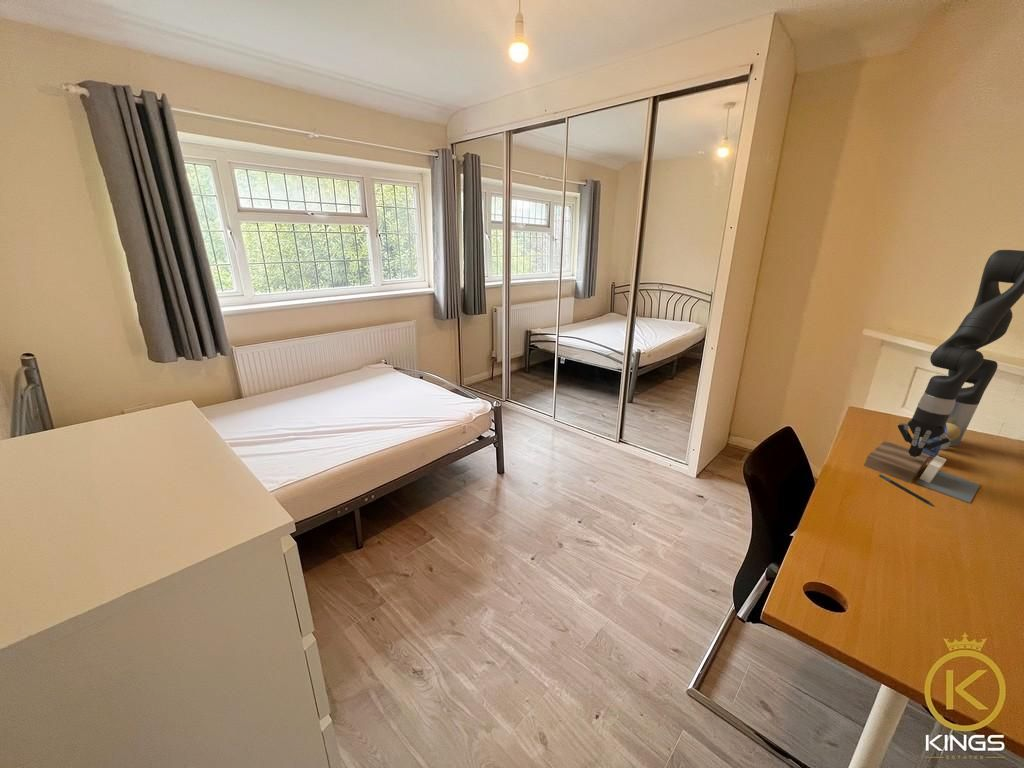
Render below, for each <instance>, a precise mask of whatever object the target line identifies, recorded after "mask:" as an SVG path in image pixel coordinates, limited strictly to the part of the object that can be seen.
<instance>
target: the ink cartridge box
mask: <svg viewBox="0 0 1024 768" xmlns="http://www.w3.org/2000/svg"><path fill="white" fill-rule="evenodd" d="M944 429H945V432H944V433H945V434H947V426H946V425H945V427H944ZM939 437H941V436H937V437H935V438H932V439H929V440H928V441H927V443H932V442H935V441H937V440H939ZM921 440H922V437H920V440H919V443H918V445H919V444H920V442H921ZM941 446H942V445H939V446H937V447H934V448H931V449H928V448H924V449H923V451H922V453H924V454H927V455H930V456H929V458H928V461H927V463H928V464H930V462H931V461H932V460H933V459H934V458H935V457H936V456H939V453H940V451H941V450H942V449H941Z"/></svg>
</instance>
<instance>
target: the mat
mask: <svg viewBox="0 0 1024 768" xmlns="http://www.w3.org/2000/svg"><path fill="white" fill-rule="evenodd" d="M915 484H916V485H918V486H922V487H924V488H927V489H930V490H932V491H935V492H938V493H940V494H943V495H946V496H949V497H951V498H953V499H957V500H959V501H962V502H965V503H966V504H971V502H972V500H973V498H974V497H975V495H976V493H977V491H978V490H979V488H980V485H981V483H977V482H975V481H971V480H968V479H965V478H962V477H959V476H957V475H953V474H951V473H948V472H944V471H942V470H939V472H938V473H937V474H936V476H935V477H934V478H933V479H932V481H931V482H930V483H928V482H926V481H923V480H921V479H919V478H918V479H917V480H916V482H915Z"/></svg>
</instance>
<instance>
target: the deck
mask: <svg viewBox="0 0 1024 768" xmlns="http://www.w3.org/2000/svg"><path fill="white" fill-rule="evenodd" d="M909 449H910V447H905V446H902V445H900V444H897V443H893V442H891V441H888V440H887V441H886V440H883V441H882V443H880V444H879V445H878V446H877V447H876V448H874V449H873V450H872V451H871V452H870V453H869V454H868V455H867V457H866V460H865V462H864V464H863V465H864V467H867V468H869V469H872V470H875V471H878V472H880V473H882V474H886V475H888V476H891V477H893V478H897V479H898V480H902V481H905V482H906V483H913V481H914V480H915V478H916V477H917V476H918V475H919V473H921V471H922V470H923V469H924V468H925V467H926V466H927V465H926V464H927V463H928V462H927V461H928V458H929V456H930V455H927V454H924V453H921V455H920V456H917V457H913V456H910V454H909V453H908V451H909Z"/></svg>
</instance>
